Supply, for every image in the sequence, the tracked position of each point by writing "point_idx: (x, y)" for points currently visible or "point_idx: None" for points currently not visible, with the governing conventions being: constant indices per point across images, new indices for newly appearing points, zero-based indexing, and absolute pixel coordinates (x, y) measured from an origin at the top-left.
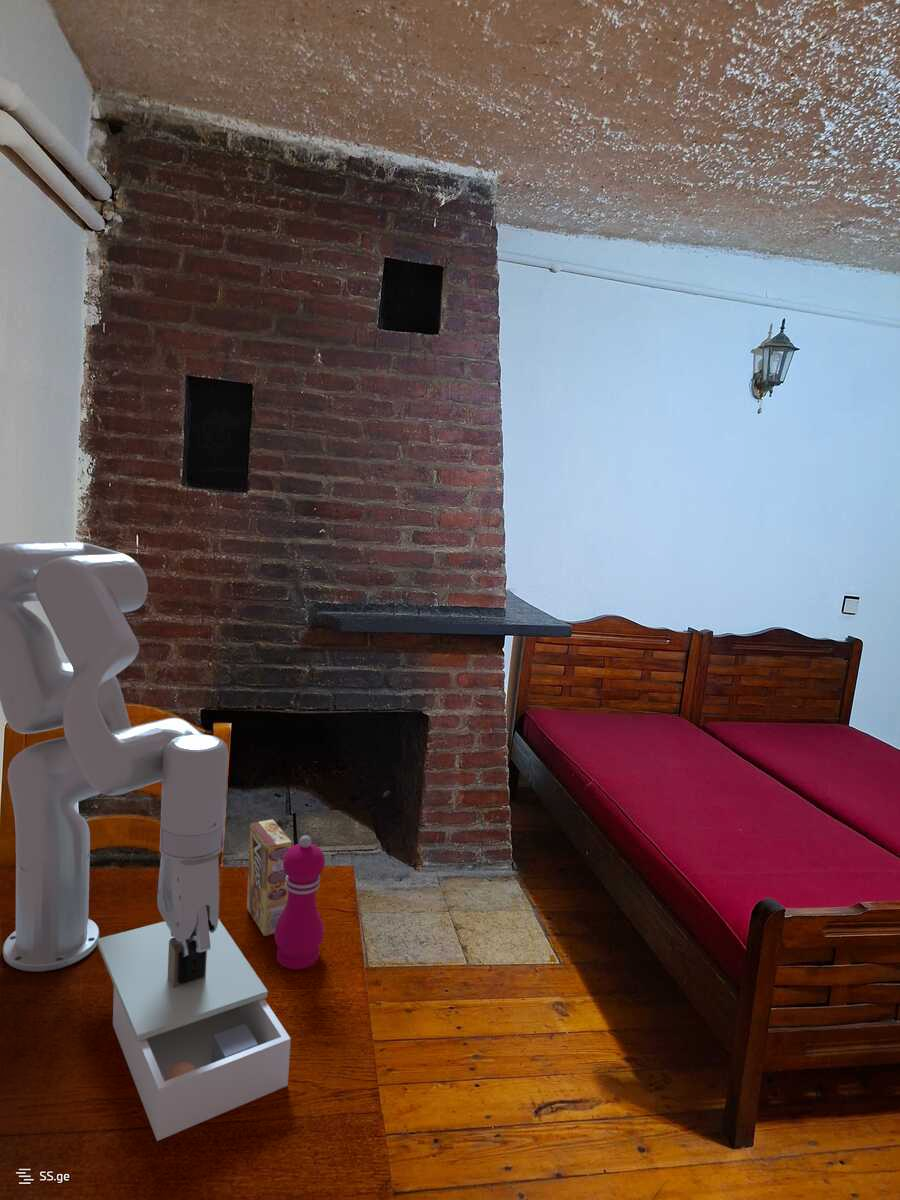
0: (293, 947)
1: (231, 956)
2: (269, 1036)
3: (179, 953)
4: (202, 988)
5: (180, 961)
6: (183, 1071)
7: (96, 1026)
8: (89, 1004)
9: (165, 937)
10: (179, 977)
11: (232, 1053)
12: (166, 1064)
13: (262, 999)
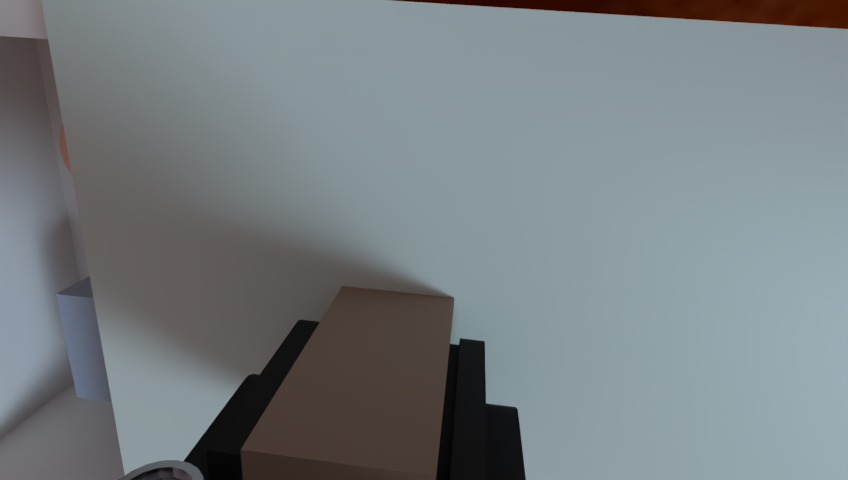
0: None
1: None
2: (99, 437)
3: (236, 457)
4: None
5: (234, 415)
6: (66, 152)
7: (660, 3)
8: (814, 16)
9: (818, 422)
10: (285, 340)
11: (63, 318)
12: None
13: None
